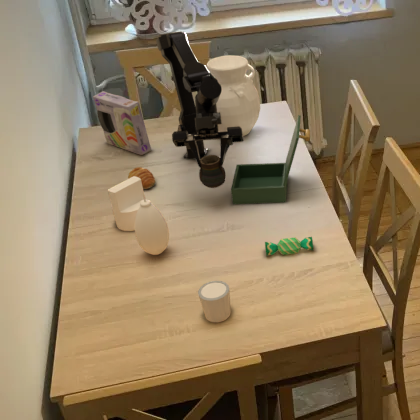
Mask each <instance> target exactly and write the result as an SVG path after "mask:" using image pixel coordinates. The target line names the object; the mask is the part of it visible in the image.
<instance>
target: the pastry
mask: <svg viewBox="0 0 420 420" xmlns="http://www.w3.org/2000/svg"><path fill="white" fill-rule="evenodd" d="M133 176H135V177H138V178H140V179H141V182H142V186H143V190H148V189H150V188H153V187H154V186H155V184H156V182H157V181H156V178H155V177H154V174H153V173H152V172H151V171H150V170H149V169H148V168H143V167H141V166H137V167H134V168H133V169H132V170H130V171H129V173H128V176H127V179H129V178H131V177H133Z"/></svg>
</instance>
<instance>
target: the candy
mask: <svg viewBox="0 0 420 420" xmlns="http://www.w3.org/2000/svg"><path fill="white" fill-rule="evenodd" d="M264 249H265V255H266V257H268V256H272V255H274V254H276V253H277V252H279V253H280V254H281V255H282V256H284V255H285V256H286V255H294V254H298V253H299V252H300V250H301V249H305V250H308V251H314V240H313V237H312V236H308V237H304V238H303V239H302V240H299V239H298V238H297V237H295V236H293V237H286V238H280V240H279V241H278V243H273V242H271V241H264Z"/></svg>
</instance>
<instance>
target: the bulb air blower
mask: <svg viewBox="0 0 420 420" xmlns="http://www.w3.org/2000/svg"><path fill="white" fill-rule="evenodd" d="M143 198H144V200H143V201H141V202H140V207H139V209H138V211H137V214H136V218H135V230H134V235H135V238H136V241H137V243H138V245H139V246H140V248H141V249H142V250H143V251H144V252H146V254H150V255H153V256H158V255H160V254H162V253H163V252H164V251H165V250H166V249H167V248H168V245H169V241H170V229H169V225H168V223H167V220H166V218H165V216H164V215H163V213H162V212H161V210H160V209H159V208H158V207H157V206H156V205H154V204H153V203H152V201H151V200H150V199H147V198H146V195H145V192H144V193H143Z"/></svg>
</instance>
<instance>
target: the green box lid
mask: <svg viewBox="0 0 420 420" xmlns="http://www.w3.org/2000/svg"><path fill="white" fill-rule="evenodd" d="M301 117H302V116H301V115H300V114H298V115H297V119H296V122H295V126H294V128H293V133H292V136H291V141H290V144H289V147H288V151H287V155H286V158H285V162H284V163H285V173H284V182H283V186H286V183H287V179H288V180H289V176H290V172H291V168H292V165H293V161H294V158H295V155H296V151H297V148H298V144H299V140H300V139H302V140H304V141H305V142H309V141H310V140H311V130H310V129H309V128H306V129H304V128H301ZM300 133H303V134H304V135H302V134H300Z"/></svg>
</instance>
